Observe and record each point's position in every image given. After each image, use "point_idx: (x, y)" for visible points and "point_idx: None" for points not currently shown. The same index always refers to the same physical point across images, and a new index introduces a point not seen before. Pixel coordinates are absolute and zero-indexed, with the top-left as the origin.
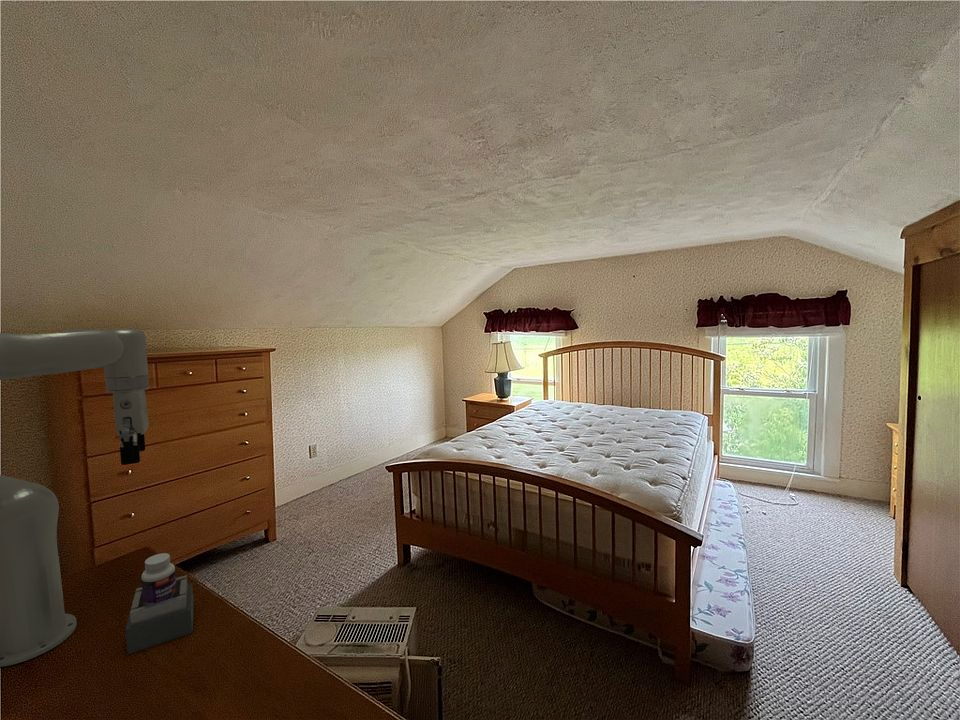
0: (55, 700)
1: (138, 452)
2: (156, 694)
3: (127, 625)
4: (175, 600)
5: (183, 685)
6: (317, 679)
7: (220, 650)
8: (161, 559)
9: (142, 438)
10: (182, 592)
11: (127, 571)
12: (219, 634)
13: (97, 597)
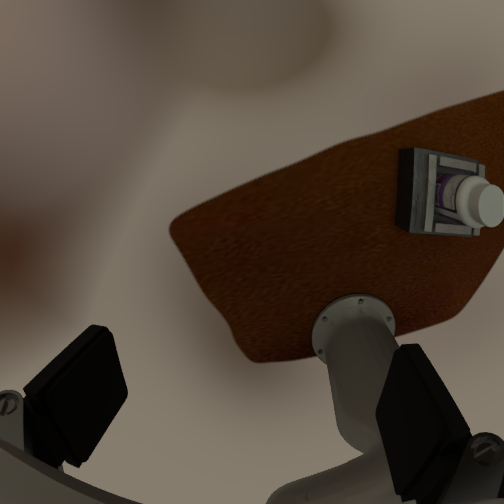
0: (471, 284)
1: (443, 388)
2: None
3: (465, 235)
4: (484, 178)
5: None
6: None
7: (496, 139)
8: (499, 199)
9: (63, 387)
10: (473, 167)
11: (221, 247)
12: (474, 133)
13: (286, 280)
